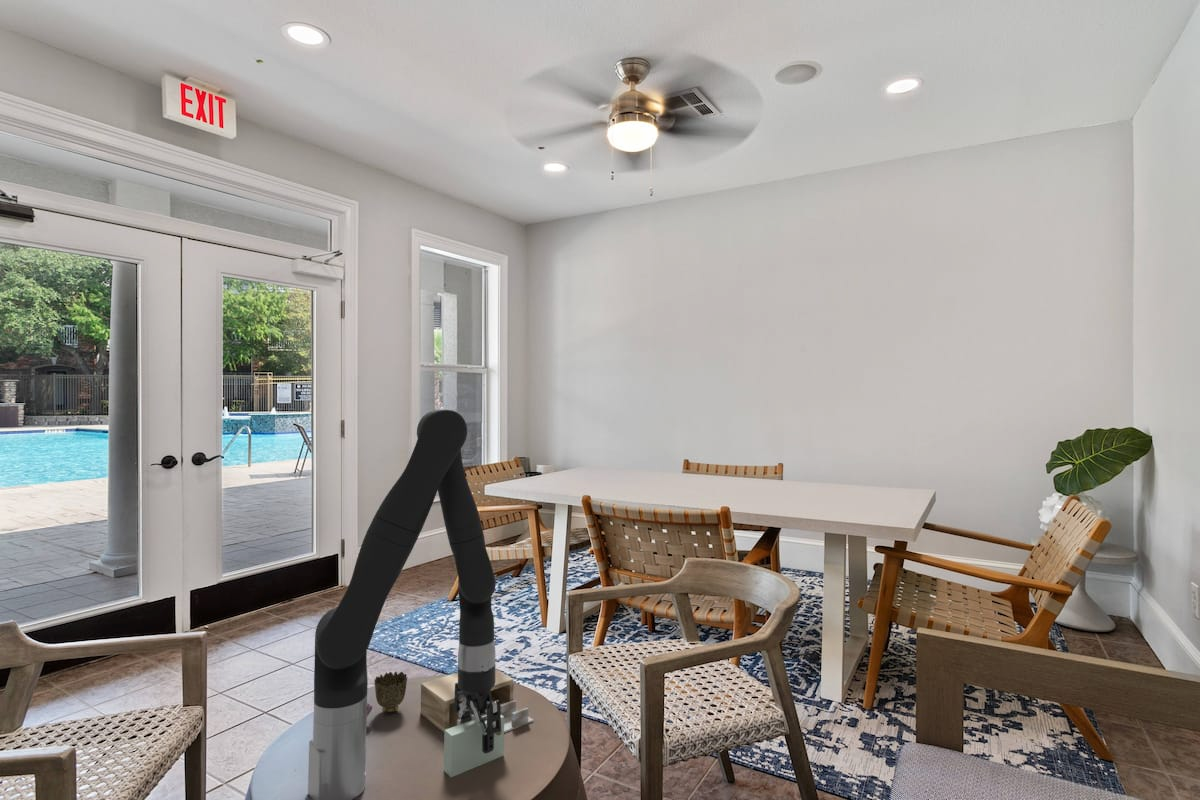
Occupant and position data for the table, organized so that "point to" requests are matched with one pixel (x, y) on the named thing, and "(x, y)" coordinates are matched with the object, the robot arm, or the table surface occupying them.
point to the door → (469, 747)
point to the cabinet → (442, 694)
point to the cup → (390, 691)
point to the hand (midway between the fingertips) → (476, 743)
